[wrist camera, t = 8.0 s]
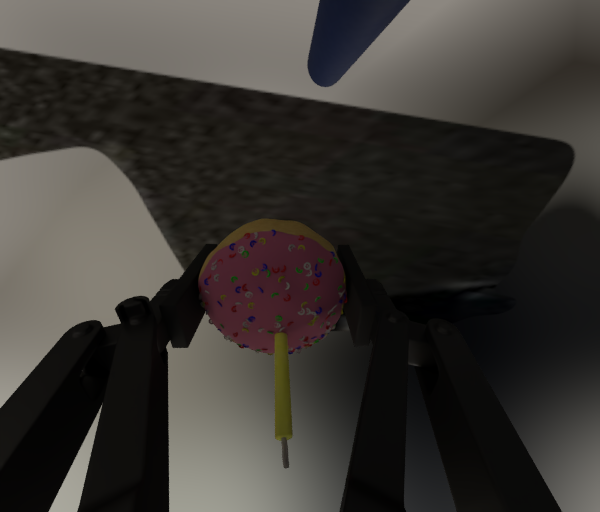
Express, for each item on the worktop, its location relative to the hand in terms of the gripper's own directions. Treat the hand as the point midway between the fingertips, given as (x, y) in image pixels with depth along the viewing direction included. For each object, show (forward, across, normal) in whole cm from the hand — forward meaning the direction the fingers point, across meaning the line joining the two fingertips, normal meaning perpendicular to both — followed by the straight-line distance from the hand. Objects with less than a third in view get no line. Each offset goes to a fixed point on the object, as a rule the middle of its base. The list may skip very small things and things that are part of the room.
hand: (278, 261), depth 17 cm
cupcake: (+1, 0, 0) cm, 1 cm away
